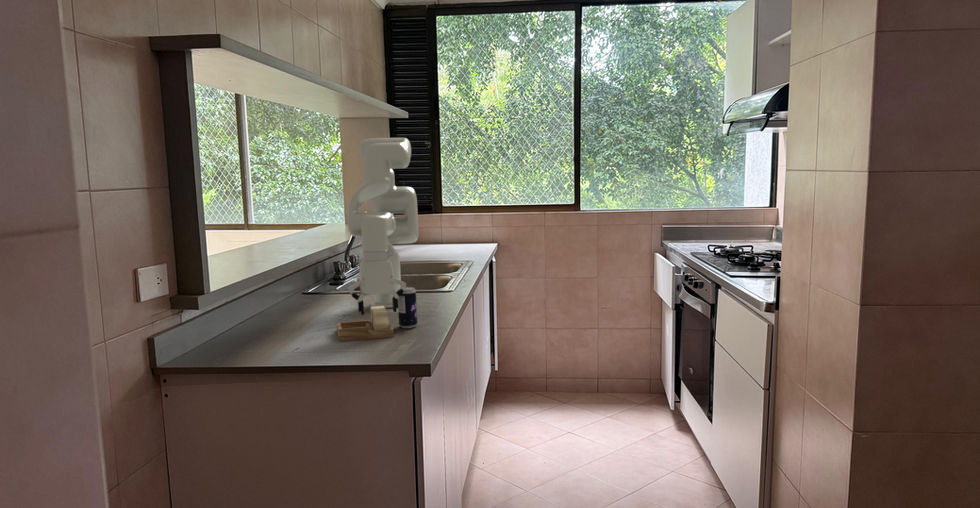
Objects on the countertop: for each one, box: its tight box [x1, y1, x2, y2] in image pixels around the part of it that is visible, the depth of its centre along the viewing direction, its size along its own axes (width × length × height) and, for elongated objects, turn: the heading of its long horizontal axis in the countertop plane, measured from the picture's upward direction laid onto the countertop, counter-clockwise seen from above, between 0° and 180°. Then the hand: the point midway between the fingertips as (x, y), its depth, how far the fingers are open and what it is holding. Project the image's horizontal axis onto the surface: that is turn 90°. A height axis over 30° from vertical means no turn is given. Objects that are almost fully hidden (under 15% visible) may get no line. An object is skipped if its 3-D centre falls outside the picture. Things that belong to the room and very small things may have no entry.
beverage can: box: [397, 286, 418, 329], centre depth 201 cm, size 6×6×12 cm
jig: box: [336, 319, 395, 343], centre depth 194 cm, size 14×16×3 cm
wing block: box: [370, 306, 389, 330], centre depth 195 cm, size 10×4×6 cm, turn 16°
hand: (378, 312), depth 195 cm, fingers open, 9 cm apart
